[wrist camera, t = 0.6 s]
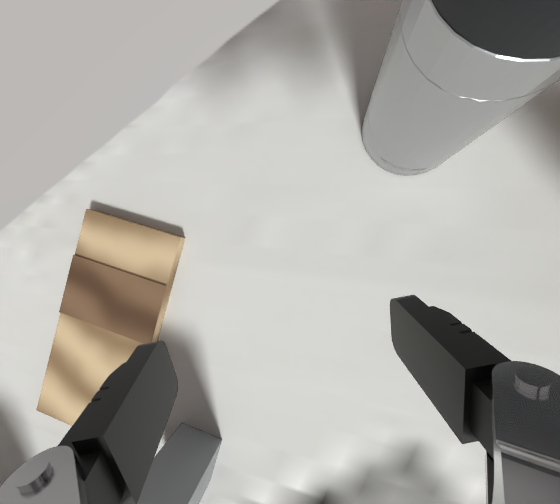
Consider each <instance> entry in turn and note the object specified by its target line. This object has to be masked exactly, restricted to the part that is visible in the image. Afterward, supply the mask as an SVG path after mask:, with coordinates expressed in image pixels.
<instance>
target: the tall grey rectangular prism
mask: <svg viewBox="0 0 560 504" xmlns="http://www.w3.org/2000/svg"><path fill="white" fill-rule="evenodd" d="M221 441H222V439H220V438H217V437H215V436H212V435H210V434H208V433H205V432H203V431H200V430H198V429H195V428H193V427H191V426H188V425H186V424H183V423H182V424H181V425H180V426H179V427H178V429H177V430H176V431H175V432H174V434H173V435H172V436H171V437H170V439H169V440H168V441H167V442H166V443H165V445H164V446H163V447H162V448H161V450H160V451H159V452H158V453H157V455H156V456H155V457H154V459H153V462H152V464H151V467H150V470H149V472H148V475H147V478H146V481H145V483H144V486H143V489H142V492H141V494H140V497H139V500H138V502H137V504H199V502H200V500H201V498H202V496H203V494H204V492H205V490H206V488H207V486H208V484H209V482H210V479H211V476H212V472H213V469H214V465H215V462H216V459H217V455H218V452H219V448H220V445H221Z"/></svg>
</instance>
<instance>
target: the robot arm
mask: <svg viewBox="0 0 560 504" xmlns="http://www.w3.org/2000/svg"><path fill="white" fill-rule="evenodd" d="M559 79H560V0H402V2H401V5H400V8H399V12H398V15H397V18H396V21H395V24H394V27H393V30H392V33H391V36H390V40H389V43H388V46H387V49H386V52H385V55H384V58H383V61H382V65H381V68H380V71H379V74H378V77H377V80H376V83H375V86H374V89H373V93H372V95H371V98H370V101H369V105H368V108H367V111H366V114H365V118H364V121H363V127H362V137H363V143H364V146H365V149H366V151H367V153H368V154H369V156H370V157H371V159H372V160H373V161H374V162H375V163H376V164H377V165H378V166H380V167H381V168H383V169H385V170H386V171H389V172H392V173H394V174H399V175H417V174H421V173H424V172H427V171H429V170H431V169H433V168H435V167H437V166H438V165H440V164H441V163H443V162H444V161H445V160H447V159H448V158H450V157H451V156H452V155H454V154H455V153H457V152H458V151H460V150H461V149H463V148H464V147H465V146H467V145H468V144H470V143H471V142H472V141H474V140H475V139H477V138H478V137H479V136H481V135H482V134H484V133H485V132H487V131H488V130H489V129H491V128H492V127H494V126H495V125H496V124H498V123H499V122H501V121H502V120H503V119H505V118H506V117H508V116H509V115H510V114H512V113H513V112H515V111H516V110H517V109H519V108H520V107H522V106H523V105H524V104H526V103H527V102H529V101H530V100H531V99H533V98H534V97H536V96H537V95H538V94H540V93H541V92H543V91H544V90H545V89H547V88H548V87H550V86H551V85H552V84H554V83H555V82H557V81H558V80H559ZM390 316H391V335H392V342H393V346H394V348H395V351H396V353H397V355H398V356H399V358H400V359H401V360H402V362H403V363H404V364H405V366H406V367H407V369H408V370H409V371H410V373H411V374H412V376H413V377H414V378H415V380H416V381H417V382H418V384H419V385H420V387H421V388H422V389H423V391H424V392H425V393H426V395H427V396H428V398H429V399H430V400H431V402H432V403H433V405H434V406H435V407H436V409H437V410H438V411H439V413H440V414H441V416H442V417H443V418H444V420H445V421H446V422H447V424H448V425H449V427H450V428H451V429H452V431H453V432H454V434H455V435H456V436H457V438H458V439H459V440H460V442H461V443H462V444H465V443H470V442H475V441H479V442H480V443H481V444H482V446H483V447H484V448H485V449H486V454H485V473H486V504H560V375H558V374H556V373H555V372H553V371H551V370H549V369H546V368H544V367H541V366H538V365H535V364H531V363H527V362H520V361H511V360H510V359H508V358H507V357H506V356H504V355H503V354H502V353H501V352H499V351H498V350H497V349H495V348H494V347H493V346H492V345H490V344H489V343H488V342H486V341H485V340H484V339H483V338H481V337H480V336H479V335H477V334H476V333H475V332H472V331H471V329H470V328H468V327H467V326H466V325H465V324H462V323H461V321H459V320H458V319H457V318H456V317H454V316H453V315H452V314H450V313H449V312H446V311H444V310H442V309H439V308H437V307H434V306H431V307H428V306H427V305H426V304H425V303H424V302H422V301H421V300H420V299H419V298H418V297H417V296H415V295H410V296H404V297H399V298H394V299H391V301H390ZM99 389H100V390H99V391H97V393H96V394H95V395H94V397H93V398H92V399H91V403H89V404H88V405H87V406H86V408H85V409H84V410H83V412H82V413H81V415H80V416H79V417H78V419H77V420H76V422H75V423H74V424H73V426H72V427H71V428H70V430H69V431H68V433H67V434H66V435H65V437H64V438H63V439H62V441H61V442H60V444H59V445H58V446H57V447H53V448H50V449H47V450H45V451H43V452H41V453H39V454H37V455H36V456H34V457H32V458H31V459H29V460H28V461H27V462H25V463H24V464H23V465H21V466H20V467H19V468H18V469H17V470H15V471H14V472H13V473H12V474H11V475H10V476H9V477H8V478H7V480H6V481H5V482H4V483H3V484H2V486H1V487H0V504H137V502H138V500H139V497H140V494H141V492H142V489H143V486H144V483H145V481H146V478H147V475H148V472H149V470H150V467H151V464H152V462H153V459H154V456H155V453H156V451H157V448H158V445H159V442H160V440H161V437H162V434H163V432H164V429H165V426H166V423H167V421H168V418H169V415H170V412H171V410H172V407H173V404H174V401H175V399H176V396H177V391H178V381H177V376H176V373H175V370H174V367H173V365H172V362H171V359H170V356H169V353H168V350H167V347H166V345H165V343H164V342H163V341H157V342H152V343H147V344H141V345H138V346H137V347H136V349H135V350H134V351H133V353H132V354H131V356H130V357H129V359H128V360H127V362H125V363H123V364H121V365H120V366H119V367H118V368H117V369H116V370H115V371H113V372H112V373H111V374H110V375H109V376H108V377H107V379H106V380H105V382H104V383H103V384H102V386H101V387H100V388H99Z"/></svg>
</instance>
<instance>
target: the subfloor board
mask: <svg viewBox="0 0 560 504" xmlns="http://www.w3.org/2000/svg"><path fill="white" fill-rule="evenodd" d="M184 240H185V238H183V237H180V236H176V235H173V234H170V233H167V232H163V231H160V230H157V229H154V228H150V227H147V226H144V225H141V224H137V223H134V222H131V221H128V220H124V219H121V218H118V217H114V216H111V215H108V214H105V213H101V212H98V211H95V210H89V209H86V212H85V216H84V220H83V224H82V228H81V232H80V236H79V240H78V244H77V248H76V252H75V255H73V258H72V262H71V266H70V270H69V274H68V279H67V283H66V287H65V291H64V295H63V299H62V303H61V307H60V311H59V312H60V317H59V321H58V325H57V329H56V333H55V337H54V341H53V345H52V349H51V353H50V357H49V361H48V365H47V369H46V374H45V378H44V382H43V386H42V390H41V394H40V398H39V402H38V406H37V411H40V412H42V413H44V414H46V415H49V416H51V417H53V418H55V419H58V420H60V421H62V422H64V423H67V424H69V425H71V426H73V424H74V423H75V422H76V420H77V419H78V417H79V416H80V415H81V413H82V412H83V410H84V409H85V408H86V406H87V405H88V404H89V403H91V399H92V398H93V397H94V395H95V394H96V393H97V391H99V390H100V389H99V388H100V387H101V386H102V384H103V383H104V382H105V380H106V379H107V377H108V376H109V375H110V374H111V373H112V372H113V371H115V370H116V369H117V368H118V367H119V366H120V365H121V364H123V363H125V362H127V360H128V359H129V357H130V356H131V354H132V353H133V351H134V350H135V349H136V347H137V346H138V345H141V344H147V343H152V342H157V340H158V336H159V333H160V329H161V325H162V322H163V318H164V314H165V310H166V307H167V303H168V299H169V296H170V292H171V288H172V284H173V281H174V277H175V273H176V270H177V266H178V262H179V258H180V255H181V251H182V247H183V244H184Z"/></svg>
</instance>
